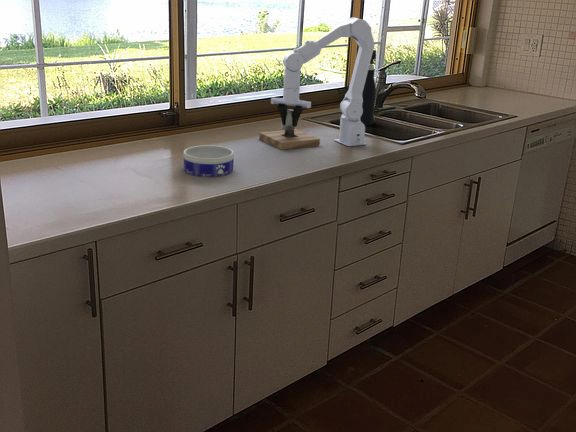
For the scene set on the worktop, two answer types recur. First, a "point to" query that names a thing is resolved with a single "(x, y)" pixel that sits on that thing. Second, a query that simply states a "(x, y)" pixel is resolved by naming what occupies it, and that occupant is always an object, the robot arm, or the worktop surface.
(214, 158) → the dog bowl
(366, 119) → the wine bottle
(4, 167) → the worktop surface
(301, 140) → the hole plate
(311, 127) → the worktop surface
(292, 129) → the long pin
